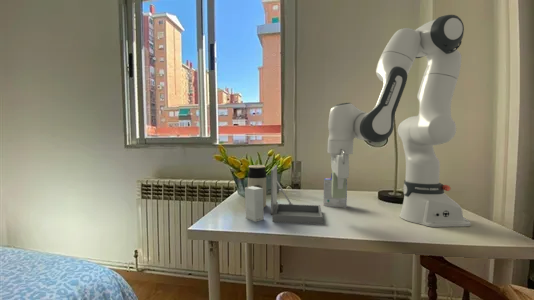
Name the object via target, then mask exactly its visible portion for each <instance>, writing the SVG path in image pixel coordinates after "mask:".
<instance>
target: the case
mask: <svg viewBox="0 0 534 300" xmlns="http://www.w3.org/2000/svg"><path fill="white" fill-rule="evenodd" d="M278 188H279V189H280V191H281V192H282V194H283V195H284V197H285V198H286V200H287V202H288V204H287V203H279V202H278ZM270 216H272V223H285V224H286V223H288V224H289V223H290V224H309V225H324V224H323V221H324V217H323V212H322V208H321V205H319V204H318V205H317V204H294V203H293V202H292V201H291V200H290V199H289V197H288V195H287V194H286V192H285V190H284V189H283V188H282V185H280V183H279V181H278V165H277V164H276V165H274V167H272V169H271V170H270Z"/></svg>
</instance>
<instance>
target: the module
mask: <svg viewBox="0 0 534 300" xmlns="http://www.w3.org/2000/svg"><path fill="white" fill-rule="evenodd" d="M331 173H332V191H331V195H332V198H346V179H347V178H344V182H343V189H338V188H337V183H338V179H337V176H336V175H335V172H334V171H332V170H331Z"/></svg>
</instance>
